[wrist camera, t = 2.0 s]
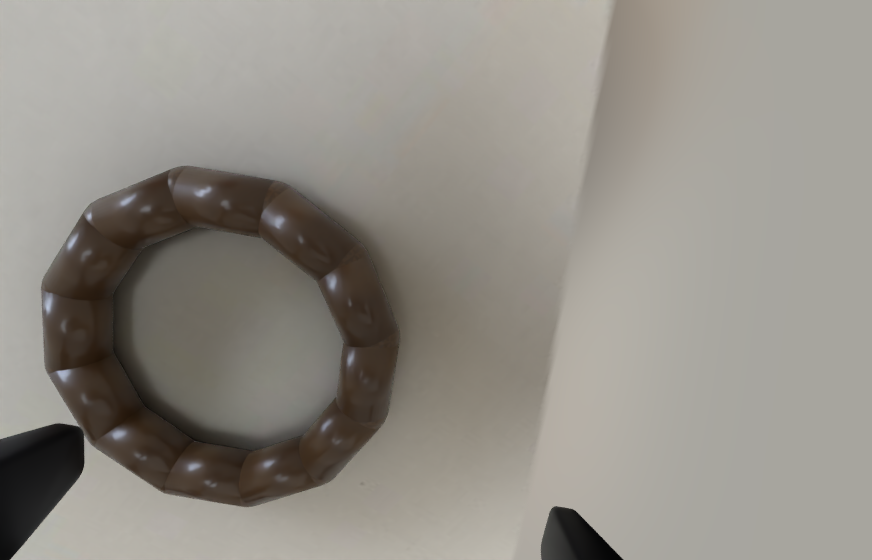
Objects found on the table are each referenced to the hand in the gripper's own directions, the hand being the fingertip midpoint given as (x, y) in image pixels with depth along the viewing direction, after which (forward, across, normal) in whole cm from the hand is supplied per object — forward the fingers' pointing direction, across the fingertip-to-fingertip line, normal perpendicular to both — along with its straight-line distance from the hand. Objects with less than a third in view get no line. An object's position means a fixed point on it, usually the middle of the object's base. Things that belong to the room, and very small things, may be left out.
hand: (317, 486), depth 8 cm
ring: (+5, +4, 0) cm, 6 cm away
